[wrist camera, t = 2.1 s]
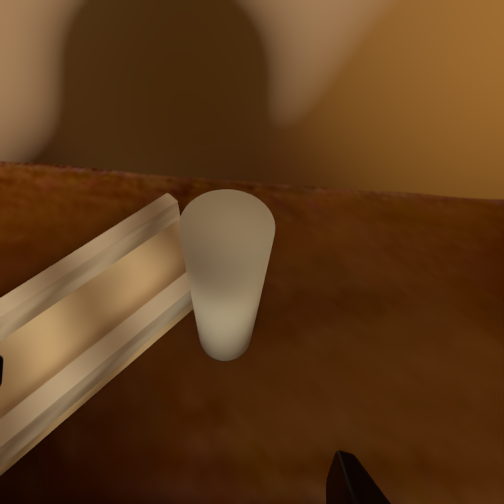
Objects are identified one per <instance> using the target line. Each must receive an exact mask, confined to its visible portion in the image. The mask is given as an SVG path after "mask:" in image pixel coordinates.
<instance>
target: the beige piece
mask: <svg viewBox="0 0 504 504" xmlns="http://www.w3.org/2000/svg"><path fill="white" fill-rule="evenodd" d="M179 234H180V239H181V245H182V250H183V255H184V261H185V266H186V271H187V276H188V282H189V287H190V292H191V297H192V303H193V308H194V313H195V318H196V324H197V329H198V334H199V339H200V343H201V346H202V348H203V350H204V351H205V352H206V353H207V354H208V355H209V356H210V357H212V358H214V359H216V360H220V361H229V360H233V359H236V358H238V357H239V356H241V355H242V354H243V353H244V352H245V351H246V350H247V348H248V346H249V344H250V341H251V337H252V332H253V328H254V323H255V319H256V315H257V310H258V306H259V301H260V297H261V293H262V288H263V284H264V279H265V275H266V270H267V266H268V262H269V257H270V253H271V248H272V244H273V239H274V235H275V222H274V218H273V216H272V214H271V212H270V210H269V209H268V207H267V206H266V205H265V204H264V203H263V202H262V201H260V200H259V199H258V198H256V197H254V196H253V195H251V194H248V193H246V192H242V191H238V190H231V189H221V190H214V191H210V192H207V193H204V194H202V195H200V196H198V197H197V198H195V199H194V200H192V201H191V202H190V203H189V204H188V205H187V206H186V208H185V209H184V211H183V212H182V214H181V217H180V220H179Z"/></svg>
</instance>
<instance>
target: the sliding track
mask: <svg viewBox="0 0 504 504" xmlns="http://www.w3.org/2000/svg"><path fill="white" fill-rule="evenodd" d="M179 220H180V212H179V206H178V201H177V200H176V199H174V198H173V197H172V196H171V195H170V194H169V193H166V194H165V195H163V196H161V197H160V198H158V199H157V200H155V201H154V202H152V203H150V204H149V205H147V206H146V207H144V208H142V209H141V210H139V211H138V212H136V213H135V214H133V215H131V216H130V217H128V218H127V219H125V220H123V221H122V222H120V223H119V224H117V225H115V226H114V227H112V228H111V229H109V230H108V231H106V232H104V233H103V234H101V235H100V236H98V237H96V238H95V239H93V240H92V241H90V242H89V243H87V244H85V245H84V246H82V247H81V248H79V249H77V250H76V251H74V252H73V253H71V254H69V255H68V256H66V257H65V258H63V259H62V260H60V261H58V262H57V263H55V264H54V265H52V266H50V267H49V268H47V269H46V270H44V271H43V272H41V273H39V274H38V275H36V276H35V277H33V278H31V279H30V280H28V281H27V282H25V283H23V284H22V285H20V286H19V287H17V288H16V289H14V290H12V291H11V292H9V293H8V294H6V295H4V296H3V297H1V298H0V355H1V356H2V357H3V360H4V362H3V376H2V384H1V386H0V476H1V475H2V474H3V473H4V472H5V471H6V470H8V469H9V468H10V467H11V466H12V465H13V464H15V463H16V462H17V461H18V460H19V459H20V458H22V457H23V456H24V455H25V454H26V453H27V452H28V451H30V450H31V449H32V448H33V447H34V446H35V445H37V444H38V443H39V442H40V441H41V440H42V439H43V438H45V437H46V436H47V435H48V434H49V433H50V432H52V431H53V430H54V429H55V428H56V427H57V426H59V425H60V424H61V423H62V422H63V421H64V420H65V419H67V418H68V417H69V416H70V415H71V414H72V413H74V412H75V411H76V410H77V409H78V408H79V407H80V406H82V405H83V404H84V403H85V402H86V401H87V400H89V399H90V398H91V397H92V396H93V395H94V394H96V393H97V392H98V391H99V390H100V389H101V388H102V387H104V386H105V385H106V384H107V383H108V382H109V381H111V380H112V379H113V378H114V377H115V376H116V375H117V374H119V373H120V372H121V371H122V370H123V369H124V368H126V367H127V366H128V365H129V364H130V363H131V362H133V361H134V360H135V359H136V358H137V357H138V356H139V355H141V354H142V353H143V352H144V351H145V350H146V349H148V348H149V347H150V346H151V345H152V344H153V343H154V342H156V341H157V340H158V339H159V338H160V337H161V336H163V335H164V334H165V333H166V332H167V331H168V330H170V329H171V328H172V327H173V326H174V325H175V324H176V323H178V322H179V321H180V320H181V319H182V318H183V317H185V316H186V315H187V314H188V313H189V312H190V311H191V310H193V309H194V308H193V303H192V297H191V292H190V287H189V282H188V276H187V271H186V266H185V261H184V255H183V250H182V245H181V239H180V234H179Z"/></svg>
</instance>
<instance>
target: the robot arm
mask: <svg viewBox="0 0 504 504" xmlns="http://www.w3.org/2000/svg"><path fill="white" fill-rule="evenodd" d="M3 362H4V360H3V357H2V356H1V355H0V386H1V384H2V376H3ZM326 504H390V502H389V501H388V500H387V498H386V497H385V495H384V494H383V493H382V491H381V490H380V489H379V487H378V486H377V485H376V483H375V482H374V481H373V479H372V478H371V477H370V475H369V474H368V473H367V471H366V470H365V469H364V467H363V466H362V465H361V463H360V462H359V460H358V459H357V458H356V457H355V455H353V454H351V453H348V452H344V451H341V450H339V451H337V452H336V453H335V455H334V458H333V461H332V464H331V467H330V470H329V473H328V477H327V482H326Z"/></svg>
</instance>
